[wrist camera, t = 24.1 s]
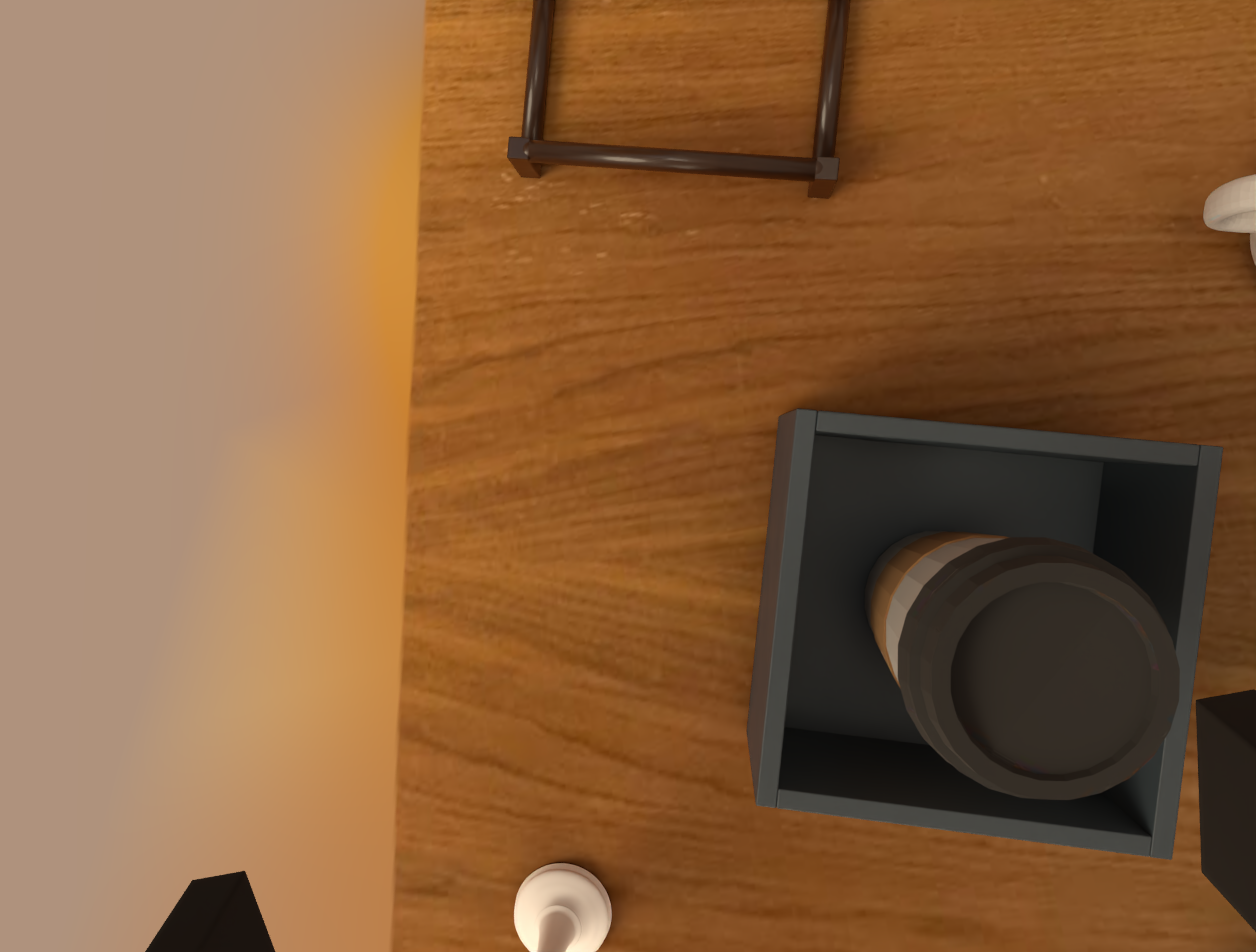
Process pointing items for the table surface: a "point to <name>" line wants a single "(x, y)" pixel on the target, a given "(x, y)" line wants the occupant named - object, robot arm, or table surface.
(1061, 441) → the grey open box
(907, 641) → the coffee cup
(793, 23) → the table surface
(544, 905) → the chess piece
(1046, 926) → the table surface
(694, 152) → the rectangular rod frame
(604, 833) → the table surface
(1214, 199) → the cup
